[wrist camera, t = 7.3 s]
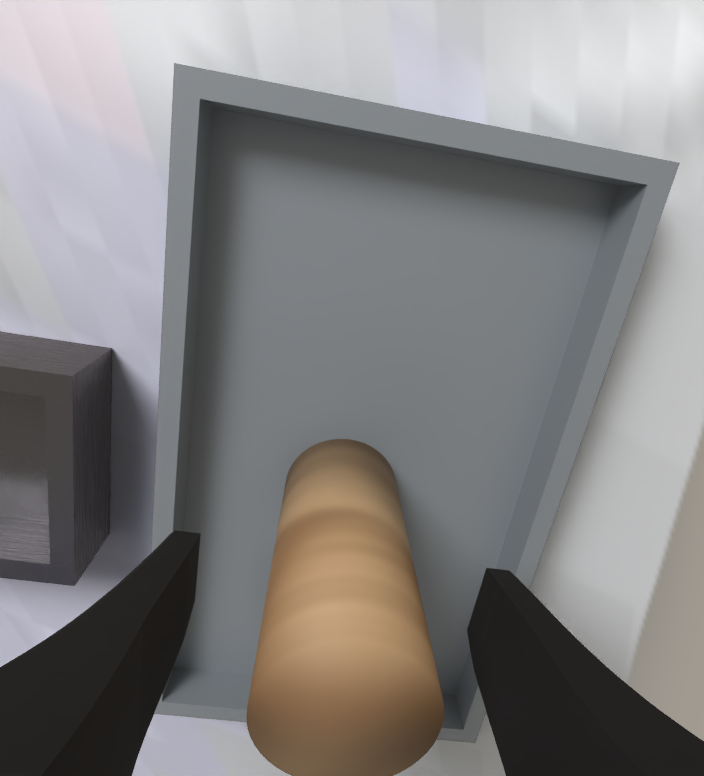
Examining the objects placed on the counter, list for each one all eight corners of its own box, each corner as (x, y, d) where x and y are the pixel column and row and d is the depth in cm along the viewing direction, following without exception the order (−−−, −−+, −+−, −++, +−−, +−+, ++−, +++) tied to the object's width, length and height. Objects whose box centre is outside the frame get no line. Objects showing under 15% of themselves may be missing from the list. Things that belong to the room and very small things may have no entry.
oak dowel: (384, 541, 18) (421, 792, 10) (278, 528, 18) (237, 777, 10) (406, 447, 17) (465, 653, 9) (292, 431, 16) (257, 631, 9)
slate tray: (461, 689, 21) (475, 742, 19) (162, 660, 20) (143, 712, 18) (631, 167, 15) (679, 163, 13) (198, 83, 14) (174, 63, 12)
